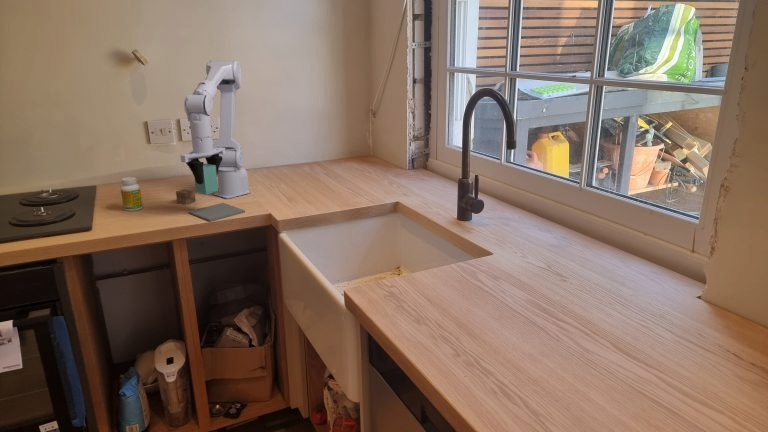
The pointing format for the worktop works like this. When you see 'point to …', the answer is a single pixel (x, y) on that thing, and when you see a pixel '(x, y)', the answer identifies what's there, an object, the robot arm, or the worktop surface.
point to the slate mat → (216, 212)
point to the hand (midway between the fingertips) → (206, 181)
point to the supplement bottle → (131, 194)
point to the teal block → (208, 180)
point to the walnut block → (185, 196)
